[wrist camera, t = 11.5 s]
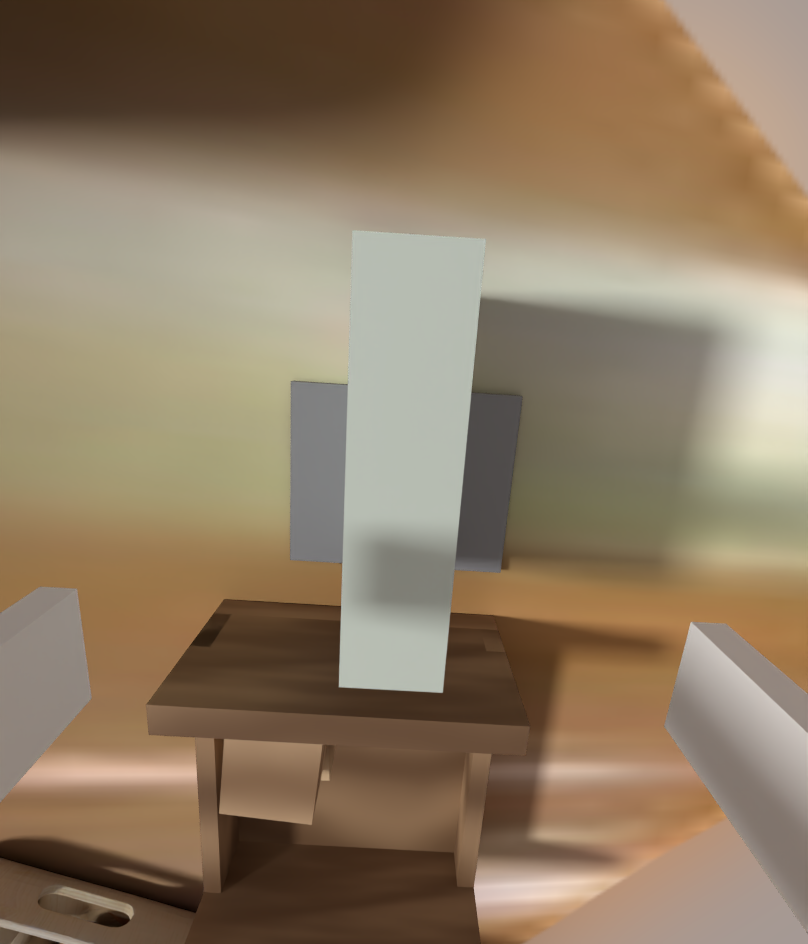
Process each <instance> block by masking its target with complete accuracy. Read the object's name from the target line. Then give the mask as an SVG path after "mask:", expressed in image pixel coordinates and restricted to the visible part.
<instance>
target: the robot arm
mask: <svg viewBox="0 0 808 944" xmlns="http://www.w3.org/2000/svg"><path fill="white" fill-rule="evenodd" d="M90 700H91V690H90V683H89V676H88V668H87V661H86V653H85V646H84V638H83V631H82V624H81V616H80V609H79V601H78V594H77V589H71V588H52V587H39V588H37V589H36V590H34V591H33V592H31V593H30V594H28V595H27V596H25V597H24V598H22V599H21V600H19V601H18V602H16V603H15V604H13V605H12V606H10V607H9V608H7V609H6V610H4V611H3V612H1V613H0V802H1V801H2V800H3V799H4V797H5V796H6V795H7V794H8V793H9V792H10V791H11V789H12V788H13V787H14V786H15V785H16V784H17V783H18V782H19V780H20V779H21V778H22V777H23V776H24V775H25V774H26V772H27V771H28V770H29V769H30V768H31V767H32V766H33V764H34V763H35V762H36V761H37V760H38V759H39V758H40V756H41V755H42V754H43V753H44V752H45V751H46V750H47V748H48V747H49V746H50V745H51V744H52V743H53V742H54V741H55V739H56V738H57V737H58V736H59V735H60V734H61V733H62V731H63V730H64V729H65V728H66V727H67V726H68V725H69V723H70V722H71V721H72V720H73V719H74V718H75V717H76V715H77V714H78V713H79V712H80V711H81V710H82V709H83V707H84V706H85V705H86V704H87V703H88V702H89V701H90ZM664 727H665V728H666V730H667V731H668V732H669V734H670V735H671V737H672V738H673V740H674V741H675V743H676V744H677V745H678V747H679V748H680V750H681V751H682V753H683V754H684V756H685V757H686V758H687V760H688V761H689V763H690V764H691V766H692V767H693V769H694V770H695V771H696V773H697V774H698V776H699V777H700V779H701V780H702V782H703V783H704V785H705V786H706V787H707V789H708V790H709V792H710V793H711V795H712V796H713V798H714V799H715V800H716V802H717V803H718V805H719V806H720V808H721V809H722V811H723V812H724V813H725V815H726V816H727V818H728V819H729V821H730V822H731V823H732V825H733V826H734V828H735V829H736V831H737V832H738V834H739V835H740V837H741V838H742V840H743V841H744V842H745V844H746V845H747V847H748V848H749V849H750V851H751V853H752V854H753V855H754V857H755V858H756V860H757V861H758V862H759V864H760V865H761V867H762V868H763V870H764V871H765V873H766V874H767V876H768V877H769V879H770V880H771V881H772V883H773V884H774V886H775V887H776V889H777V890H778V892H779V893H780V894H781V896H782V897H783V899H784V900H785V902H786V903H787V905H788V906H789V908H790V909H791V910H792V912H793V913H794V915H795V916H796V917H797V919H798V920H799V922H800V923H801V925H802V926H803V928H804V929H805V930H806V932H807V933H808V694H807V693H806V692H805V691H804V690H802V689H801V688H800V687H799V686H798V685H797V684H795V683H794V682H793V681H792V680H791V679H790V678H788V677H787V676H786V675H785V674H784V673H783V672H781V671H780V670H779V669H778V668H777V667H776V666H774V665H773V664H772V663H771V662H770V661H769V660H767V659H766V658H765V657H764V656H763V655H762V654H760V653H759V652H758V651H757V650H756V649H755V648H753V647H752V646H751V645H750V644H749V643H748V642H746V641H745V640H744V639H743V638H742V637H741V636H739V635H738V634H737V633H736V632H735V631H734V630H732V629H731V628H730V627H729V626H728V625H727V624H720V623H702V622H691V624H690V628H689V632H688V636H687V640H686V644H685V648H684V651H683V655H682V659H681V663H680V667H679V671H678V675H677V679H676V683H675V686H674V690H673V694H672V698H671V702H670V706H669V710H668V714H667V718H666V721H665V725H664Z"/></svg>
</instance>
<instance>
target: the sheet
mask: <svg viewBox="0 0 808 944" xmlns="http://www.w3.org/2000/svg"><path fill="white" fill-rule="evenodd" d="M485 244H486V239H478V238H463V237H447V236H432V235H417V234H401V233H386V232H371V231H355V230H353V231H352V264H351V298H350V331H349V364H348V397H347V430H346V464H345V497H344V530H343V563H342V597H341V630H340V663H339V687H345V688H364V689H382V690H400V691H419V692H437V693H443V685H444V674H445V664H446V653H447V643H448V632H449V622H450V611H451V601H452V590H453V580H454V569H455V559H456V548H457V538H458V527H459V517H460V506H461V496H462V485H463V475H464V464H465V454H466V443H467V433H468V422H469V412H470V401H471V391H472V380H473V370H474V359H475V349H476V338H477V328H478V317H479V307H480V296H481V286H482V275H483V265H484V254H485Z"/></svg>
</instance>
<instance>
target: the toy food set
mask: <svg viewBox="0 0 808 944" xmlns="http://www.w3.org/2000/svg"><path fill="white" fill-rule="evenodd" d="M195 914H196V913H194V912H191V911H187V910H184V909H180V908H177V907H173V906H170V905H166V904H163V903H159V902H156V901H153V900H149V899H146V898H142V897H139V896H136V895H132V894H129V893H125V892H121V891H118V890H114V889H111V888H107V887H103V886H100V885H96V884H92V883H89V882H85V881H82V880H78V879H74V878H71V877H67V876H63V875H60V874H56V873H53V872H49V871H45V870H42V869H38V868H35V867H31V866H28V865H24V864H21V863H17V862H14V861H10V860H7V859H3V858H0V944H185V941H186V938H187V936H188V933H189V930H190V928H191V925H192V922H193V920H194V917H195Z"/></svg>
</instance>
